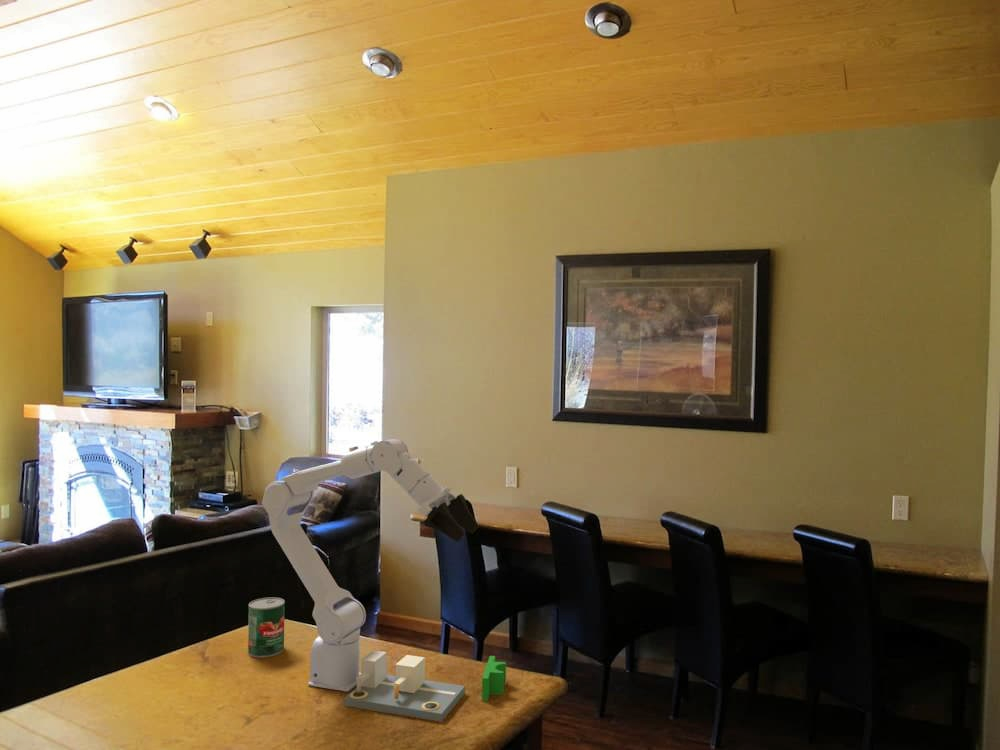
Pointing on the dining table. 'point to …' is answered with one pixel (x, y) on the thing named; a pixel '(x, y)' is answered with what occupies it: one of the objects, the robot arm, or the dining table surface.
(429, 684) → the plate
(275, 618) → the canned tomato
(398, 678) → the block
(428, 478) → the robot arm
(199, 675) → the dining table surface
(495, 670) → the pipe clamp
